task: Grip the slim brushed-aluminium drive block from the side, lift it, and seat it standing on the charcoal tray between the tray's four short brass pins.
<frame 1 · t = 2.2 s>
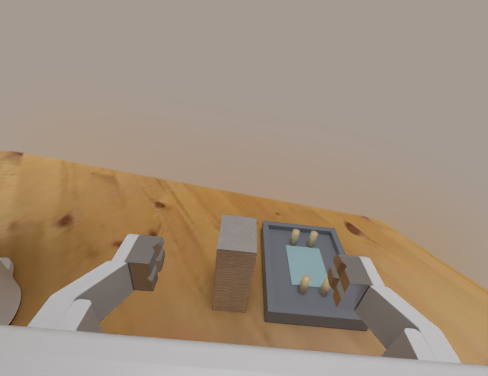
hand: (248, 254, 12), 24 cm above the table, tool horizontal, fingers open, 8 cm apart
pin tray: (304, 271, 41), on the table
drive block: (230, 291, 36), on the table
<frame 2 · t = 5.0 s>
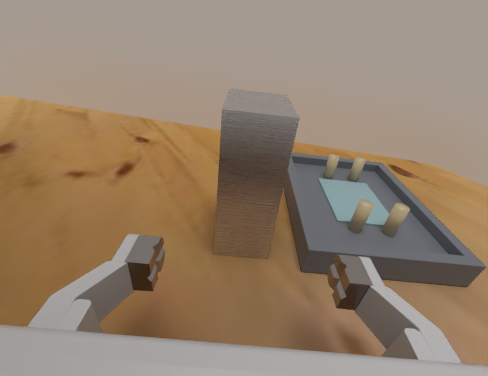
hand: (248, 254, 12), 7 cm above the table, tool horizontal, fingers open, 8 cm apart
pin tray: (348, 211, 28), on the table
drive block: (241, 232, 23), on the table
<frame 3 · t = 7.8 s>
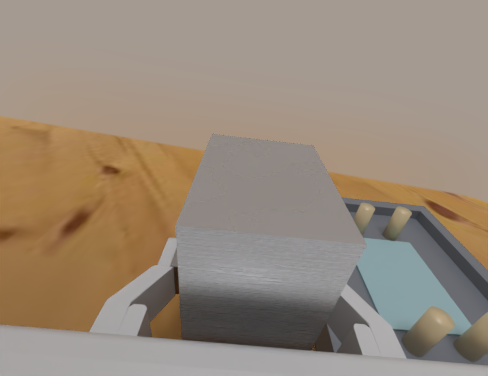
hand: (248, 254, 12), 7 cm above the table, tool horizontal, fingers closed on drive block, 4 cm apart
pin tray: (390, 291, 19), on the table
drive block: (234, 347, 15), on the table, touching gripper
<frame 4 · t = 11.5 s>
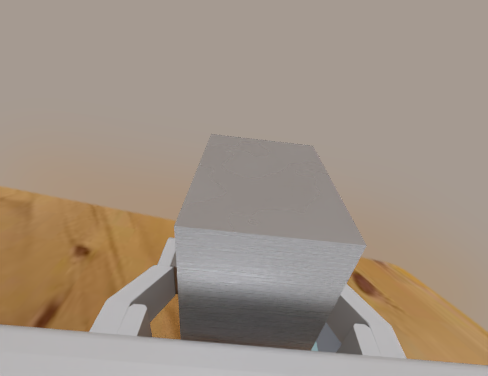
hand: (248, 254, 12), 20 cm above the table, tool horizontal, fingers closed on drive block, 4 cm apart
drive block: (234, 347, 15), point 13 cm above the table, touching gripper
when the fingers open (10 cm above the table, at t = 15.1 s): drive block stays where it is, resting on pin tray.
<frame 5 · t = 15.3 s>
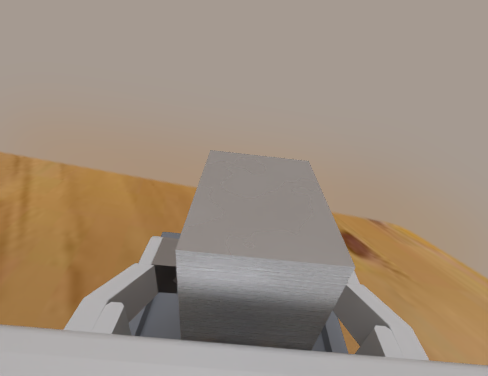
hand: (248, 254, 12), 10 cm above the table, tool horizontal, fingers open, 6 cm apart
pin tray: (231, 365, 16), on the table
drive block: (233, 353, 15), point 2 cm above the table, touching pin tray
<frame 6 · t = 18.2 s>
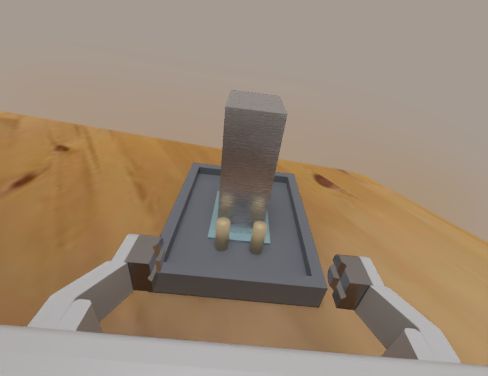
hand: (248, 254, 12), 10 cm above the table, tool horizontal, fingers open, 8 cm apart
pin tray: (239, 225, 28), on the table
drive block: (240, 214, 27), point 2 cm above the table, touching pin tray
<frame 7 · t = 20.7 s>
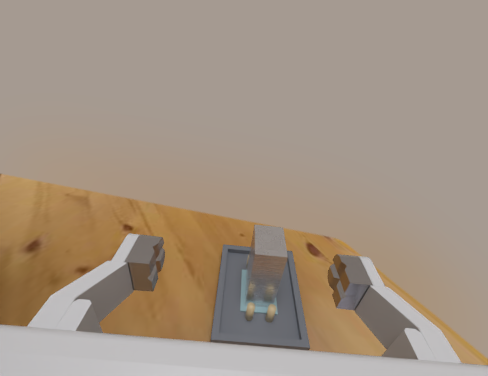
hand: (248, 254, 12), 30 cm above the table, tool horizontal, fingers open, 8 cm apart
pin tray: (257, 295, 43), on the table
drive block: (258, 290, 42), point 2 cm above the table, touching pin tray
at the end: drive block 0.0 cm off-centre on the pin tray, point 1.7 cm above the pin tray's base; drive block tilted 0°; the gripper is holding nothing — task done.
